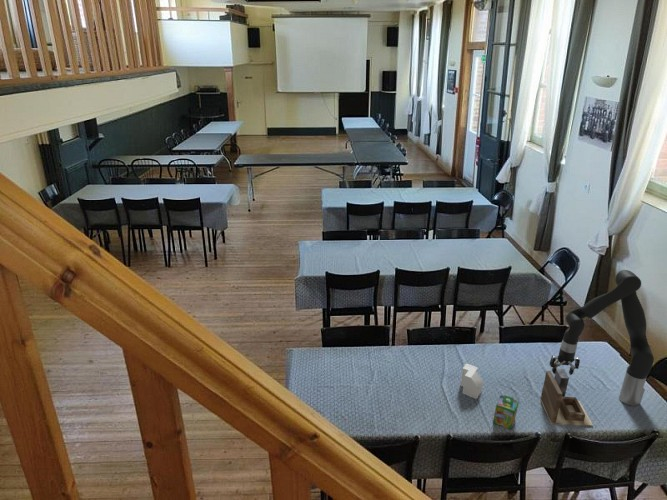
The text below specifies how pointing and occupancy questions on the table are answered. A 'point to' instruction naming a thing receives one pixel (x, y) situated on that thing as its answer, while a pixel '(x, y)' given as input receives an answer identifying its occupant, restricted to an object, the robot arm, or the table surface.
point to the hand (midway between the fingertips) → (562, 373)
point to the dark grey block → (561, 380)
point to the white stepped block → (471, 381)
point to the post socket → (562, 405)
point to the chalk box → (505, 411)
